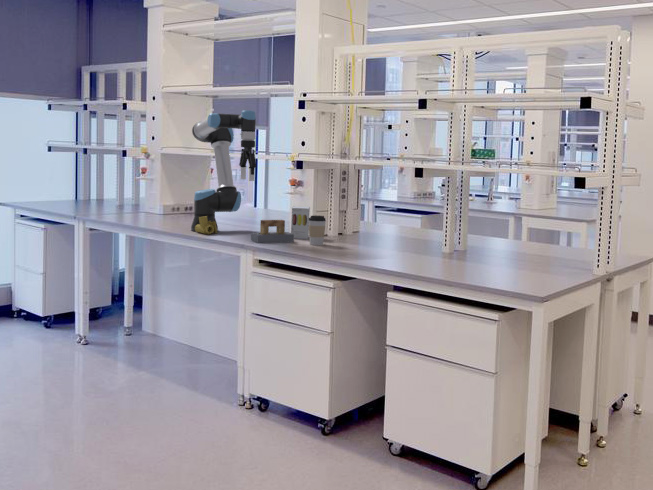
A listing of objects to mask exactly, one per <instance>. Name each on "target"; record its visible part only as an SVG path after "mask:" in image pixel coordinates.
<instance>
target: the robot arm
mask: <svg viewBox="0 0 653 490" xmlns="http://www.w3.org/2000/svg"><path fill="white" fill-rule="evenodd" d="M256 114H257V113H256V111H255V110H241V113H240V114H233V113H217V112H213V113H212V112H211V113H209V114H208V115H207V119H205V120H203V121H198V122H196V123H195V124H194V125H193V126H192V128H191V132H192V133H191V134H192V135H193V137H194V138H195V139H196V140H197V141H200V142H202V143H207V144H208V143H210V145H211V148H213V151H214V159H215V166H216V175H217V177H216V178H217V183H218V187H217V188H216V189H214V188H207V189H205V188H204V189H201V190H196V191H195V192H194V197H193V201H194V207H193V211H194V212H193V213H194V215H193V216H194V217H193V220H192V223H191V226H190V231H193V232H196V231H195V226H196V225H197V224H200V222H199V217H203V216H207V219H208V221H211V222H216V229H217V232H218V231H219V226H218V223H217V220H216V213H225V212H226V213H231V212H232V213H233V212H234V213H235V212H238V211H239V209H240V207H241V204H242V194H241V191H237V187H236V186H235V185H234V180H233V178H234V177H233V170H232V163H231V155H229V154H230V147H231V145H232V143H233V141H234V130H233V129H237V130H240V134H239V135H240V138H241V139H240V140H241V141H240V147H241V153H240V159H239V163H238V165H239V166H240V167H239V168H240V180H246V179H247V163H248V165H249V166H248V169H249V170H248V181H249V182H254V181H255V172H256V170H255V169H256V168H257V160H256V155H255V154H256V153H255V149H253V148H255V147H256V141H255V140H256V119H257V117H256V116H257V115H256Z"/></svg>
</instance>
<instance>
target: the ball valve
mask: <svg viewBox="0 0 653 490" xmlns="http://www.w3.org/2000/svg"><path fill="white" fill-rule="evenodd" d="M199 222H200V224H197V225H196V226H195V231H194V232H196V233H199V234H202V235H203V234H204V235H211V234H213V233H214V234H217V233H218V231H217V229H216V222H217V221H216V222H211V221H208V219H207V216H203V217H199Z"/></svg>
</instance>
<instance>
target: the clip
mask: <svg viewBox="0 0 653 490" xmlns="http://www.w3.org/2000/svg"><path fill="white" fill-rule="evenodd" d="M285 226H286V220H285V219H260V231H259V233H260V234H262V235H267V234H269V229H270V228H269V227H271V228H272V227H276V230H275V231H276V234H285V232H286V227H285Z"/></svg>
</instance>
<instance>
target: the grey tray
mask: <svg viewBox="0 0 653 490" xmlns="http://www.w3.org/2000/svg"><path fill="white" fill-rule="evenodd" d="M251 240H252V241H251ZM250 241H251V242H254V243H257V244H267V243H268V244H269V243H270V244H273V243H274V244H275V243H294V241H295V238H294V234H291V232H288V231H285V234H276V232H273V231H272V232H269V234H267V235H262V234H260V232H251V233H250Z"/></svg>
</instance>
